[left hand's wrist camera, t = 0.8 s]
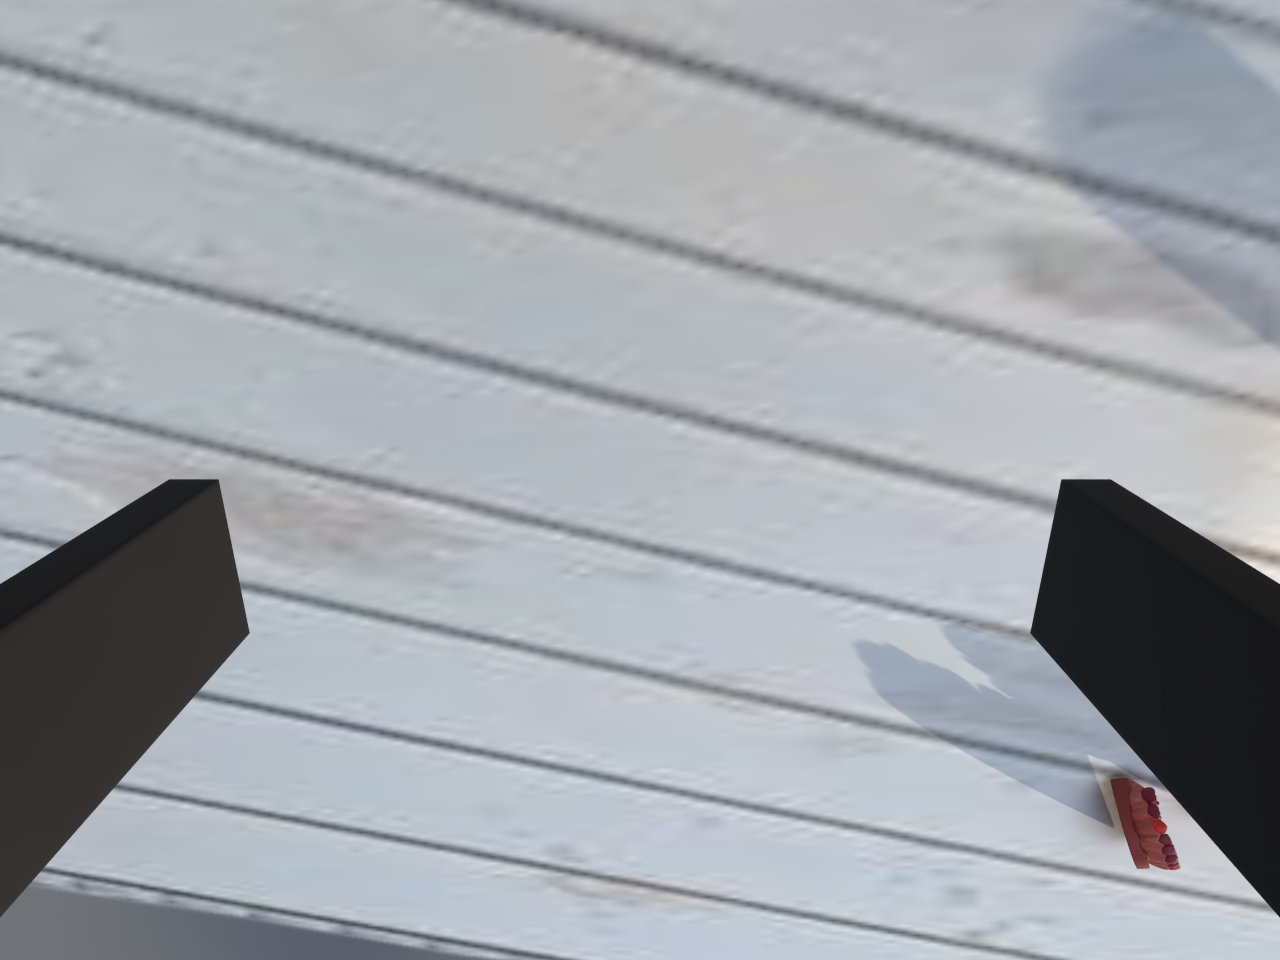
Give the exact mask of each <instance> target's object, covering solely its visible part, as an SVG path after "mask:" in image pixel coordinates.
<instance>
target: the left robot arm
mask: <svg viewBox="0 0 1280 960" xmlns="http://www.w3.org/2000/svg"><path fill="white" fill-rule="evenodd" d="M248 634H249V628H248V623H247V618H246V613H245V608H244V603H243V598H242V593H241V588H240V583H239V578H238V573H237V569H236V564H235V559H234V554H233V549H232V544H231V539H230V534H229V529H228V524H227V519H226V514H225V509H224V504H223V499H222V494H221V489H220V485H219V480H218V479H169V480H168V481H166V482H164V483H163V484H161V485H160V486H158V487H156V488H155V489H153V490H151V491H150V492H148V493H147V494H145V495H143V496H142V497H140V498H139V499H137V500H135V501H134V502H132V503H130V504H129V505H127V506H126V507H124V508H122V509H121V510H119V511H118V512H116V513H114V514H113V515H111V516H109V517H108V518H106V519H105V520H103V521H101V522H100V523H98V524H97V525H95V526H93V527H92V528H90V529H88V530H87V531H85V532H84V533H82V534H80V535H79V536H77V537H76V538H74V539H72V540H71V541H69V542H67V543H66V544H64V545H63V546H61V547H59V548H58V549H56V550H55V551H53V552H51V553H50V554H48V555H46V556H45V557H43V558H42V559H40V560H38V561H37V562H35V563H34V564H32V565H30V566H29V567H27V568H25V569H24V570H22V571H21V572H19V573H17V574H16V575H14V576H13V577H11V578H9V579H8V580H6V581H4V582H3V583H1V584H0V917H1V916H2V915H3V914H4V912H5V911H6V910H7V909H8V908H9V907H10V906H11V904H12V903H13V902H14V901H15V900H16V899H17V898H18V896H19V895H20V894H21V893H22V892H23V891H24V890H25V889H26V887H27V886H28V885H29V884H30V883H31V882H32V881H33V879H34V878H35V877H36V876H37V875H38V874H39V873H40V871H41V870H42V869H43V868H44V867H45V866H46V865H47V863H48V862H49V861H50V860H51V859H52V858H53V857H54V855H55V854H56V853H57V852H58V851H59V850H60V849H61V847H62V846H63V845H64V844H65V843H66V842H67V841H68V840H69V838H70V837H71V836H72V835H73V834H74V833H75V832H76V830H77V829H78V828H79V827H80V826H81V825H82V824H83V822H84V821H85V820H86V819H87V818H88V817H89V816H90V814H91V813H92V812H93V811H94V810H95V809H96V808H97V806H98V805H99V804H100V803H101V802H102V801H103V800H104V798H105V797H106V796H107V795H108V794H109V793H110V792H111V790H112V789H113V788H114V787H115V786H116V785H117V784H118V783H119V781H120V780H121V779H122V778H123V777H124V776H125V775H126V773H127V772H128V771H129V770H130V769H131V768H132V767H133V765H134V764H135V763H136V762H137V761H138V760H139V759H140V757H141V756H142V755H143V754H144V753H145V752H146V751H147V749H148V748H149V747H150V746H151V745H152V744H153V743H154V741H155V740H156V739H157V738H158V737H159V736H160V735H161V734H162V732H163V731H164V730H165V729H166V728H167V727H168V726H169V724H170V723H171V722H172V721H173V720H174V719H175V718H176V716H177V715H178V714H179V713H180V712H181V711H182V710H183V708H184V707H185V706H186V705H187V704H188V703H189V702H190V700H191V699H192V698H193V697H194V696H195V695H196V694H197V692H198V691H199V690H200V689H201V688H202V687H203V686H204V685H205V683H206V682H207V681H208V680H209V679H210V678H211V677H212V675H213V674H214V673H215V672H216V671H217V670H218V669H219V667H220V666H221V665H222V664H223V663H224V662H225V661H226V659H227V658H228V657H229V656H230V655H231V654H232V653H233V651H234V650H235V649H236V648H237V647H238V646H239V645H240V643H241V642H242V641H243V640H244V639H245V638H246V637H247V635H248ZM1031 634H1032V635H1033V637H1034V638H1035V639H1036V640H1037V641H1038V642H1039V643H1040V645H1041V646H1042V647H1043V648H1044V649H1045V650H1046V651H1047V653H1048V654H1049V655H1050V656H1051V657H1052V658H1053V659H1054V661H1055V662H1056V663H1057V664H1058V665H1059V666H1060V667H1061V669H1062V670H1063V671H1064V672H1065V673H1066V674H1067V675H1068V677H1069V678H1070V679H1071V680H1072V681H1073V682H1074V683H1075V685H1076V686H1077V687H1078V688H1079V689H1080V690H1081V691H1082V692H1083V694H1084V695H1085V696H1086V697H1087V698H1088V699H1089V700H1090V702H1091V703H1092V704H1093V705H1094V706H1095V707H1096V708H1097V710H1098V711H1099V712H1100V713H1101V714H1102V715H1103V716H1104V718H1105V719H1106V720H1107V721H1108V722H1109V723H1110V724H1111V726H1112V727H1113V728H1114V729H1115V730H1116V731H1117V732H1118V734H1119V735H1120V736H1121V737H1122V738H1123V739H1124V740H1125V741H1126V743H1127V744H1128V745H1129V746H1130V747H1131V748H1132V749H1133V751H1134V752H1135V753H1136V754H1137V755H1138V756H1139V757H1140V759H1141V760H1142V761H1143V762H1144V763H1145V764H1146V765H1147V767H1148V768H1149V769H1150V770H1151V771H1152V772H1153V773H1154V775H1155V776H1156V777H1157V778H1158V779H1159V780H1160V781H1161V783H1162V784H1163V785H1164V786H1165V787H1166V788H1167V789H1168V790H1169V792H1170V793H1171V794H1172V795H1173V796H1174V797H1175V798H1176V800H1177V801H1178V802H1179V803H1180V804H1181V805H1182V806H1183V808H1184V809H1185V810H1186V811H1187V812H1188V813H1189V814H1190V816H1191V817H1192V818H1193V819H1194V820H1195V821H1196V822H1197V824H1198V825H1199V826H1200V827H1201V828H1202V829H1203V830H1204V832H1205V833H1206V834H1207V835H1208V836H1209V837H1210V838H1211V840H1212V841H1213V842H1214V843H1215V844H1216V845H1217V846H1218V847H1219V849H1220V850H1221V851H1222V852H1223V853H1224V854H1225V855H1226V857H1227V858H1228V859H1229V860H1230V861H1231V862H1232V863H1233V865H1234V866H1235V867H1236V868H1237V869H1238V870H1239V871H1240V873H1241V874H1242V875H1243V876H1244V877H1245V878H1246V879H1247V881H1248V882H1249V883H1250V884H1251V885H1252V886H1253V887H1254V889H1255V890H1256V891H1257V892H1258V893H1259V894H1260V895H1261V896H1262V898H1263V899H1264V900H1265V901H1266V902H1267V903H1268V904H1269V906H1270V907H1271V908H1272V909H1273V910H1274V911H1275V912H1276V914H1277V915H1278V916H1279V917H1280V584H1279V583H1277V582H1276V581H1274V580H1272V579H1271V578H1269V577H1267V576H1266V575H1264V574H1263V573H1261V572H1259V571H1258V570H1256V569H1255V568H1253V567H1251V566H1250V565H1248V564H1246V563H1245V562H1243V561H1242V560H1240V559H1238V558H1237V557H1235V556H1234V555H1232V554H1230V553H1229V552H1227V551H1225V550H1224V549H1222V548H1221V547H1219V546H1217V545H1216V544H1214V543H1213V542H1211V541H1209V540H1208V539H1206V538H1204V537H1203V536H1201V535H1200V534H1198V533H1196V532H1195V531H1193V530H1192V529H1190V528H1188V527H1187V526H1185V525H1183V524H1182V523H1180V522H1179V521H1177V520H1175V519H1174V518H1172V517H1171V516H1169V515H1167V514H1166V513H1164V512H1162V511H1161V510H1159V509H1158V508H1156V507H1154V506H1153V505H1151V504H1150V503H1148V502H1146V501H1145V500H1143V499H1141V498H1140V497H1138V496H1137V495H1135V494H1133V493H1132V492H1130V491H1129V490H1127V489H1125V488H1124V487H1122V486H1120V485H1119V484H1117V483H1116V482H1114V481H1112V480H1111V479H1062V480H1061V484H1060V489H1059V494H1058V499H1057V504H1056V509H1055V514H1054V519H1053V524H1052V529H1051V534H1050V539H1049V544H1048V549H1047V554H1046V559H1045V564H1044V569H1043V573H1042V578H1041V583H1040V588H1039V593H1038V598H1037V603H1036V608H1035V613H1034V618H1033V623H1032V628H1031Z"/></svg>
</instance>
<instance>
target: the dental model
mask: <svg viewBox="0 0 1280 960" xmlns="http://www.w3.org/2000/svg"><path fill="white" fill-rule="evenodd" d="M1110 781H1111V785H1112V789H1113V793H1114V797H1115V801H1116V805H1117V809H1118V812H1119V816H1120V820H1121V823H1122V827H1123V830H1124V834H1125V837H1126V840H1127V843H1128V846H1129V849H1130V852H1131V855H1132V858H1133V861H1134V863H1135V865H1136V867H1137V869H1147V868H1150V867H1149V864H1152V865H1154V866H1156V867H1158V868H1161V869H1165V870H1168V869H1169V870H1177V869H1180V868H1181V867H1180V866H1179V863H1178V862H1179V859H1178V857H1177V853H1176V851H1175V848H1174V846H1173V844H1172V841H1171V839H1170V837H1169V836H1168V834H1164V833H1165V832H1166V830H1167V826H1166V824H1165V823H1164V822H1162V821H1161V816H1160V812H1159V808H1158V807H1157V806H1158V805H1159V802H1158V801H1157V800H1156V795H1155V790H1154V789H1153V788H1151V787H1147V788H1144V787H1142V786H1141V785H1139V784H1138V783H1136V782H1134V781H1132V780H1130V779H1128V778H1122V779H1111V780H1110Z"/></svg>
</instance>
